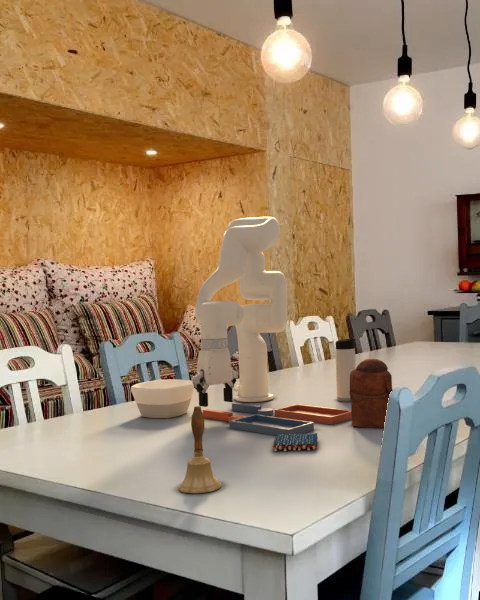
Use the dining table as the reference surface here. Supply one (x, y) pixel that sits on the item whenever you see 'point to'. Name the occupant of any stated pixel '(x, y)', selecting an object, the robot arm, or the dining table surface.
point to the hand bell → (199, 462)
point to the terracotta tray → (313, 414)
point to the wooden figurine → (370, 393)
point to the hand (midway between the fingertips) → (216, 403)
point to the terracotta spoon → (220, 415)
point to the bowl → (163, 397)
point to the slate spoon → (252, 409)
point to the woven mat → (295, 441)
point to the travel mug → (344, 367)
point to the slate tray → (271, 425)
